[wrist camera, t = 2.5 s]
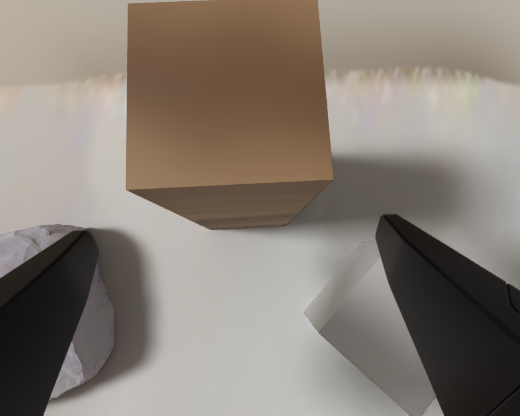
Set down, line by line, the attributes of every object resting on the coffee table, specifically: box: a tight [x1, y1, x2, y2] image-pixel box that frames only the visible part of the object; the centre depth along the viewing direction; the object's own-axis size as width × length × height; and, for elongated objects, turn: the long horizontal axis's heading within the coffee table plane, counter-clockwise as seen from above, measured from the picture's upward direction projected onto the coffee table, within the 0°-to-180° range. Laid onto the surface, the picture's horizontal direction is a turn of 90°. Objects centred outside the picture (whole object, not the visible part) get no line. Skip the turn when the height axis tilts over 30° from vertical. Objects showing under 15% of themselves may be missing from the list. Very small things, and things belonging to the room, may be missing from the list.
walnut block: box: [126, 0, 334, 229], centre depth 14 cm, size 5×5×13 cm
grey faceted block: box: [303, 241, 436, 416], centre depth 17 cm, size 6×6×5 cm
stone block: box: [0, 224, 115, 401], centre depth 18 cm, size 12×5×10 cm
